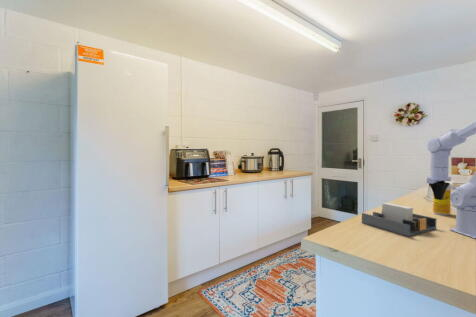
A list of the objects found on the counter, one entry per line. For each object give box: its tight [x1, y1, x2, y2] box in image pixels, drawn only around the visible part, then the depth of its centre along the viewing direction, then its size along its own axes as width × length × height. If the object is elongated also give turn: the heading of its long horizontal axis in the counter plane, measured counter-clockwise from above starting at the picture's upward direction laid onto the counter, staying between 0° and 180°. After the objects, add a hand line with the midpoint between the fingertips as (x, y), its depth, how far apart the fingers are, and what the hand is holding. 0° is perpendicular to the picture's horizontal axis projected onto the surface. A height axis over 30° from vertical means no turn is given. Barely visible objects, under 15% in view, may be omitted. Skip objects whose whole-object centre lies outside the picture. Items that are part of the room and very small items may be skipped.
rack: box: [361, 211, 437, 238], centre depth 94 cm, size 18×18×5 cm
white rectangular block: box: [381, 202, 414, 223], centre depth 94 cm, size 10×3×7 cm, turn 26°
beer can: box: [432, 181, 452, 216], centre depth 110 cm, size 6×6×15 cm
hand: (438, 199), depth 99 cm, fingers closed
